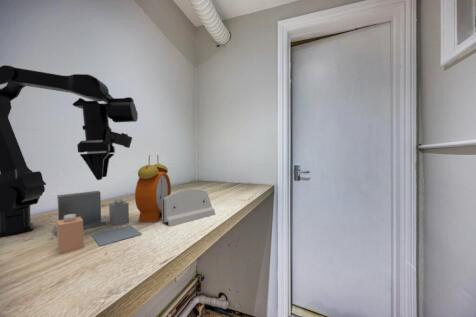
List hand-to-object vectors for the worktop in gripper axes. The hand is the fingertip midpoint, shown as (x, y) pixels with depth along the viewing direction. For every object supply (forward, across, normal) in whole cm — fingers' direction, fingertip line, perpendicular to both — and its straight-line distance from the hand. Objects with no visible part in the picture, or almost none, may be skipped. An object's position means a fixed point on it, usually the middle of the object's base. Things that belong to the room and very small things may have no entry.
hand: (102, 178), depth 57 cm
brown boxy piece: (+14, -13, +5) cm, 19 cm away
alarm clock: (+15, +2, -13) cm, 20 cm away
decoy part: (+14, 0, -3) cm, 14 cm away
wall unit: (+13, +1, +6) cm, 15 cm away
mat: (+14, -9, -3) cm, 17 cm away
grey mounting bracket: (+16, -4, -22) cm, 27 cm away
